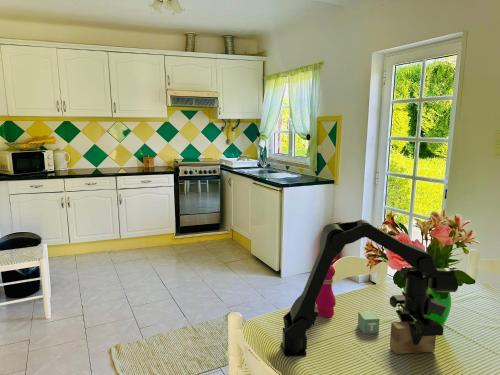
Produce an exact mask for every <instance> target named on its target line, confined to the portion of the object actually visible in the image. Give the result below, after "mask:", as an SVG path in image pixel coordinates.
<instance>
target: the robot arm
mask: <svg viewBox="0 0 500 375" xmlns="http://www.w3.org/2000/svg"><path fill="white" fill-rule="evenodd" d="M364 238H367V239H368V240H370V241H371V242H374V243H375V244H377V245H379V246H381V247H382V248H385V249H386V250H388V251H389V252H392V253H393V254H395V255H397V256H398V257H400V258H401V259H402V260H404V261H405V262H406V264H408V265H409V266H411V267H412V269H410V268H408V267H407V266H406V267H404V268H403V269H402V270H400V271H399V272H398V274H400V276H402V278H404V279H406V280H405V290H403V291H401V294H394V295H391V297H389V305H390V306H391V307H392V308H397V307H398V309H396V310H395V313H396V314H397V316H398V319H399V322H405V321H416V322H415V324H409V327H410V331H411V335H412V339H413V343H414V345H418V344H419V342H420V340H421V338H422V337H423V336H436V337H437V336H444V329H445V328H444V326H443V325H442V324H441V323H440V322H438V321H437V320H436V319H435V318H433V317H431V318H430V317H426V316H432V314H433V315H436V316H439V318H441V317H444V316H443V315H444V314H445V311H446V309H447V306H446V305H445V304H443V303H442V302H441V301H439V300H437V299H436V298H435V295H434V294H432V293H431V292H428V291H429V290H428V289H430V290H431V291H432V292H433V293H456V292H457V291H458V290H459V283H458V279H457V276H456V271H455V269H453V268H451V267H445V268H436V266H435V264H434V257H433V256H432V255H431V254H430V253H428V252H427V251H426V250H424V249H423V248H421V247H419V246H416V245H414V244H411V243H407V242H403V241H401V240H399V239H398V238H395V237H394V236H392V235H390V234H388V233H387V232H384V231H383V230H381V229H380V228H378V227H376V226H375V225H373V224H371V223H370V222H368V221H367V220H365V219H358V220H355V221H348V222H340V223H332V222H331V223H328V224H326V225H325V226H324V227H323V228H322V230H321V236H320V239H319V240H320V241H319V251H318V254H317V256H316V259H315V261H314V264H313V267H312V269H311V271H310V274H309V276H308V278H307V281H306V283H305V286H304V288H303V291H302V292H301V294H300V295H299V296H298V297H297V298H296V299H295V301H294V302H293V304H292V305H291V307H290V310H289V311H288V312H287V313H286V314H285V315H283V317H282V319H283V320H282V321H283V328H282V341H281V343H280V345H281V347H282V351H283V354H284V356H285V357H295V356H296V357H299V356H307V348H308V336H307V334H306V333H307V331H309V330H310V329H311V328H312V327H313V326H315V321H316V319H317V318H318V317H319V315H318V314H319V312H318V309H317V305H316V303H315V302H316V300H317V298H318V295H319V293H320V290H321V288H322V286H323V283H324V281H325V278H326V276H327V274H328V271H329V269H330V266H331V265H332V263H333V262H334V260H335V259H336V257H338V256H339V255H340V254H341V253H342V251H343V250H344V248H345V246H346V245H349V244H353V243H355V242H357V241H359V240H361V239H364Z"/></svg>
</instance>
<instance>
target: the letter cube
mask: <svg viewBox="0 0 500 375" xmlns="http://www.w3.org/2000/svg"><path fill="white" fill-rule="evenodd" d="M357 313H358V314H357V326H358V328H359V329H360V331H361V332H362V333H363V334H364V335H365V334H378V333H380V317H379V316H378V315H377V314H376V313H375V312H374V310H368V311H367V310H365V311H358V312H357Z"/></svg>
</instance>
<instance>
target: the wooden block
mask: <svg viewBox="0 0 500 375" xmlns="http://www.w3.org/2000/svg"><path fill="white" fill-rule="evenodd" d="M415 322H416V320H414V321H405V322H401V321H391V322H390V323H391V324H390V335H389V336H390V337H389V348H390V349H391V350H392V352H393V353H394V354H395V355H402V354H417V353H435V351H436V350H435V349H436V338H437V336H423V337H422V338H421V340H420V342H419V344H418V345H414V343H413V339H412V335H411V331H410V327H409V324H415Z"/></svg>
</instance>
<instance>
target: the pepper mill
mask: <svg viewBox="0 0 500 375" xmlns="http://www.w3.org/2000/svg"><path fill="white" fill-rule="evenodd" d="M335 275H336V270H335V267H334V265H332V264H331V266H330V269H329V271H328V274H327V276H326V278H325V281H324V283H323V286H322V288H321V290H320V293H319V295H318V298H317V300H316V302H315V304H316V306H317V309H318V312H319V314H318V317H323V318H331V317H333V316H334V315H335V309H334V307H335V306H336V297H335V294H334V291H333V286H332V285H333V283H334V277H335Z"/></svg>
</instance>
